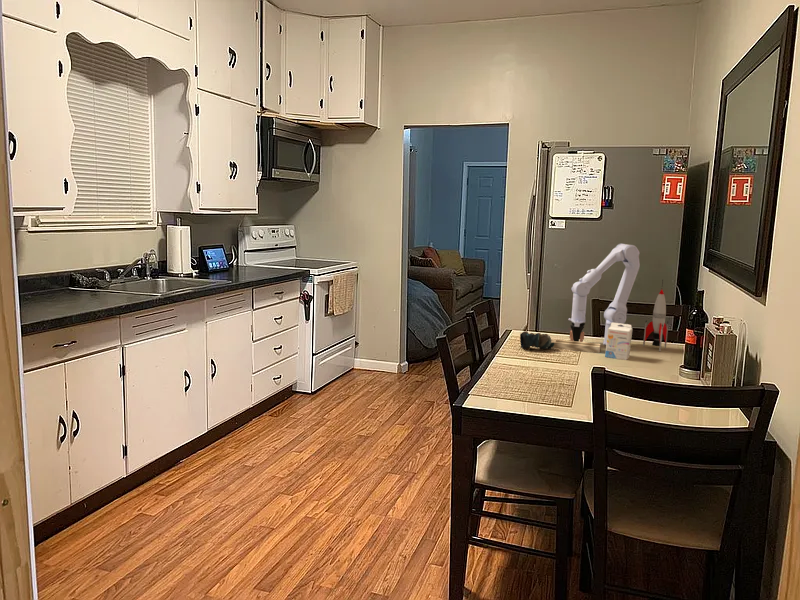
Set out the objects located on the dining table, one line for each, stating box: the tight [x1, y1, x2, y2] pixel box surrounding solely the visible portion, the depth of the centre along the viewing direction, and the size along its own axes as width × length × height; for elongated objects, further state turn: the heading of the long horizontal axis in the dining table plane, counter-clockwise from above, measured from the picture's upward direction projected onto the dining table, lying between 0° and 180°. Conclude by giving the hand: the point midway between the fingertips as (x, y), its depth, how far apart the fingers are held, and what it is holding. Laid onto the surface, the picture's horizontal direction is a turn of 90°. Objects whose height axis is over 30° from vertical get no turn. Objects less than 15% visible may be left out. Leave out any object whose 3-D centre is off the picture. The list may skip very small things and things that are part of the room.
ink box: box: [604, 322, 633, 361], centre depth 246 cm, size 9×8×13 cm
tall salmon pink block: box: [569, 330, 585, 342], centre depth 267 cm, size 6×2×6 cm, turn 71°
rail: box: [551, 338, 601, 354], centre depth 258 cm, size 20×7×2 cm, turn 71°
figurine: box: [519, 330, 554, 352], centre depth 254 cm, size 9×8×15 cm
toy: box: [642, 280, 669, 352], centre depth 260 cm, size 10×9×30 cm
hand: (576, 340), depth 267 cm, fingers open, 5 cm apart
